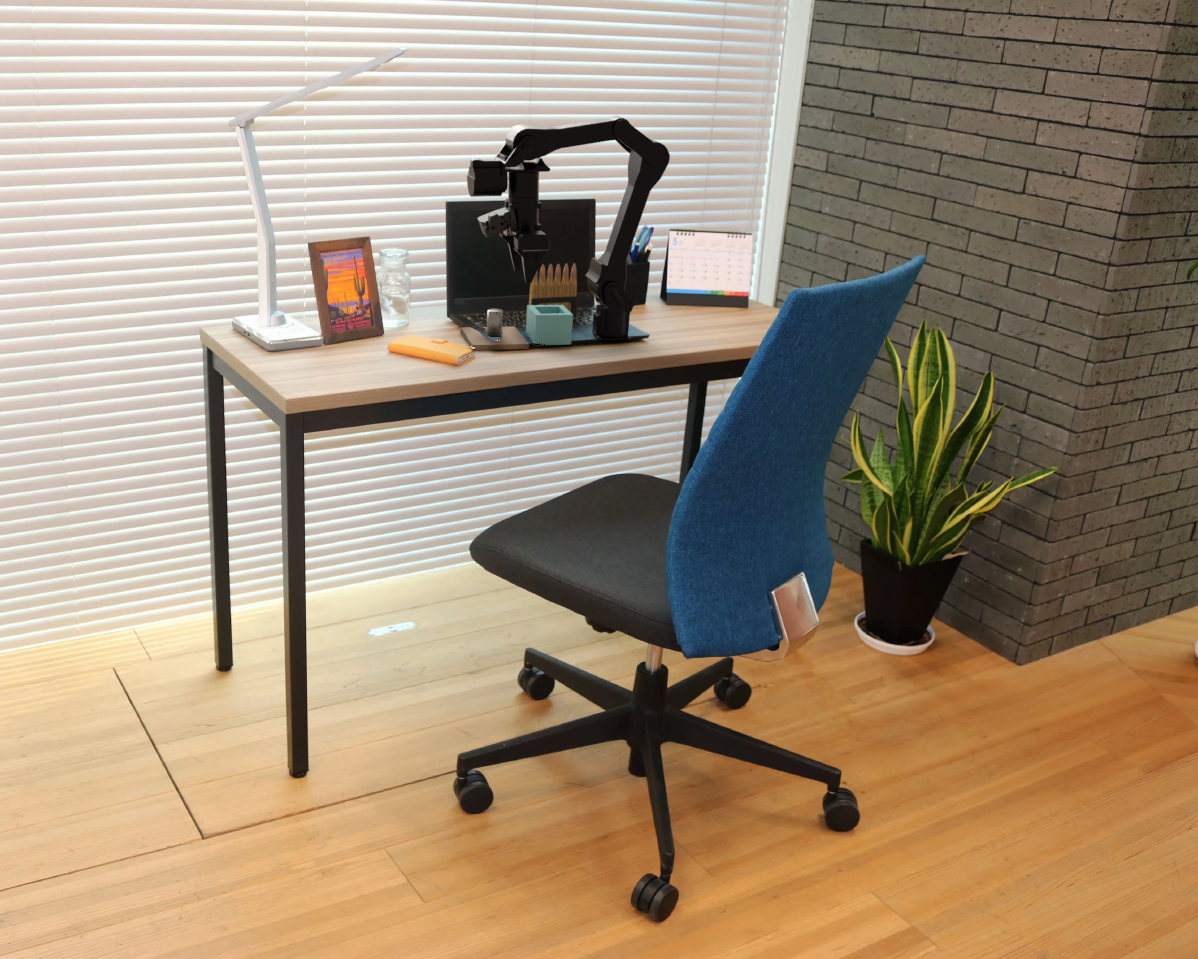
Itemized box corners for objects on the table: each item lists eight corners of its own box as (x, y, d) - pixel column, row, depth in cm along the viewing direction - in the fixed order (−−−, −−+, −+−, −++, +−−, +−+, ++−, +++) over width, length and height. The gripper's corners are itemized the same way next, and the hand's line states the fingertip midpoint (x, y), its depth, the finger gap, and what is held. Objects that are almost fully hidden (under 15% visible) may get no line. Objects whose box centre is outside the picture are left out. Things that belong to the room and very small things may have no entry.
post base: (514, 331, 232) (515, 302, 230) (528, 348, 221) (530, 318, 219) (460, 332, 229) (461, 302, 226) (472, 350, 218) (473, 319, 216)
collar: (561, 333, 233) (562, 304, 230) (571, 344, 226) (573, 314, 224) (525, 334, 230) (527, 305, 228) (534, 345, 224) (536, 315, 222)
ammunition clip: (529, 322, 239) (532, 265, 234) (526, 320, 240) (529, 263, 236) (576, 320, 243) (580, 264, 239) (573, 317, 245) (576, 262, 240)
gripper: (471, 187, 222) (472, 267, 228) (492, 205, 205) (492, 291, 212) (527, 186, 225) (526, 265, 231) (552, 204, 209) (550, 288, 215)
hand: (522, 277), depth 222 cm, fingers open, 9 cm apart
